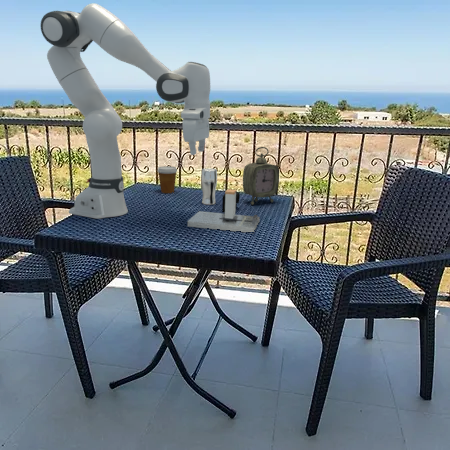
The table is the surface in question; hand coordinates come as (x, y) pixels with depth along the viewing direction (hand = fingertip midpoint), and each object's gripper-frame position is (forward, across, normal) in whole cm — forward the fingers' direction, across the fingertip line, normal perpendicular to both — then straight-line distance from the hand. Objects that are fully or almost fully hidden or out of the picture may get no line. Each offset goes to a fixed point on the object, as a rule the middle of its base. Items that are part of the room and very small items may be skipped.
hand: (197, 153), depth 139 cm
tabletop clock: (+26, -36, +18) cm, 48 cm away
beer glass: (+26, -28, -3) cm, 38 cm away
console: (+26, +1, +11) cm, 28 cm away
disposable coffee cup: (+26, -42, -28) cm, 56 cm away
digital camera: (+26, -20, +9) cm, 34 cm away
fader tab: (+23, +1, +13) cm, 26 cm away
